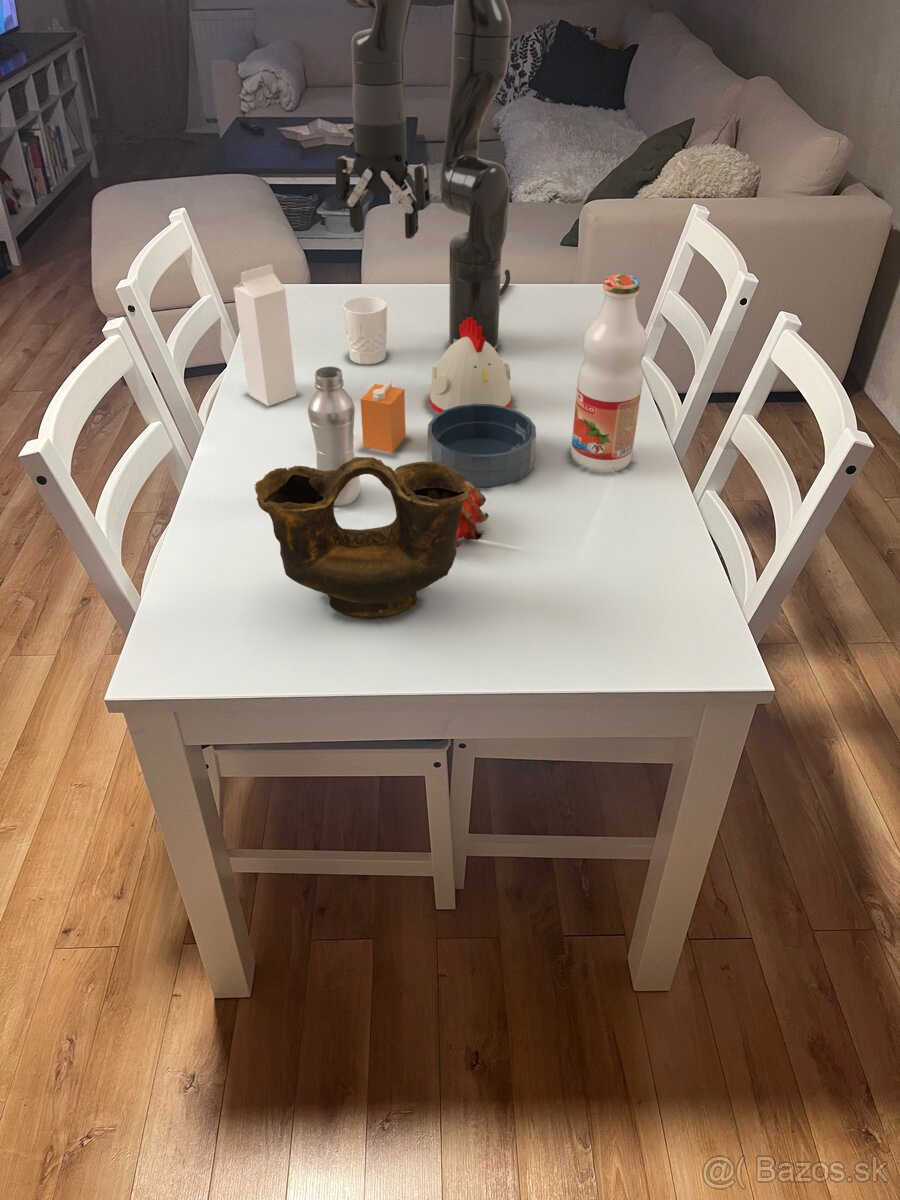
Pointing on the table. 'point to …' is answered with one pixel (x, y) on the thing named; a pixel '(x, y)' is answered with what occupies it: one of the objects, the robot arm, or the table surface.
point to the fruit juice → (610, 380)
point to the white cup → (366, 329)
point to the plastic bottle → (333, 427)
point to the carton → (383, 417)
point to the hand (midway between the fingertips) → (384, 234)
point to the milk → (265, 336)
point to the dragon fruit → (471, 515)
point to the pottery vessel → (366, 533)
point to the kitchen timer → (470, 373)
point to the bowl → (483, 443)
